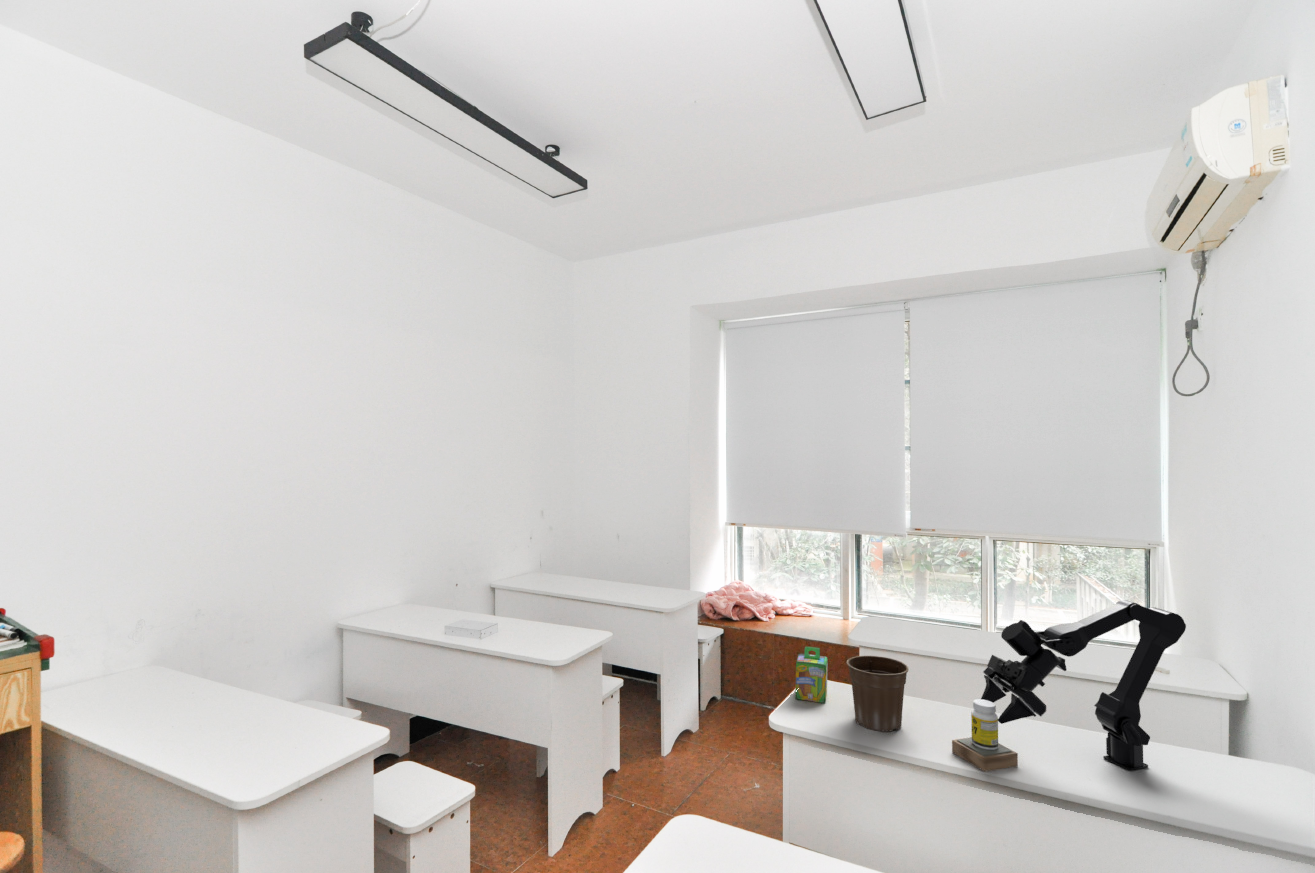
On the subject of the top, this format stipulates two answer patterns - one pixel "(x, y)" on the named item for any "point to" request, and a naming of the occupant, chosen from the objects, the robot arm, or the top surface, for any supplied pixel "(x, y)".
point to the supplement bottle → (984, 724)
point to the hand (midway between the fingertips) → (989, 714)
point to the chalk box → (811, 676)
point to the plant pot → (878, 691)
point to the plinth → (985, 755)
